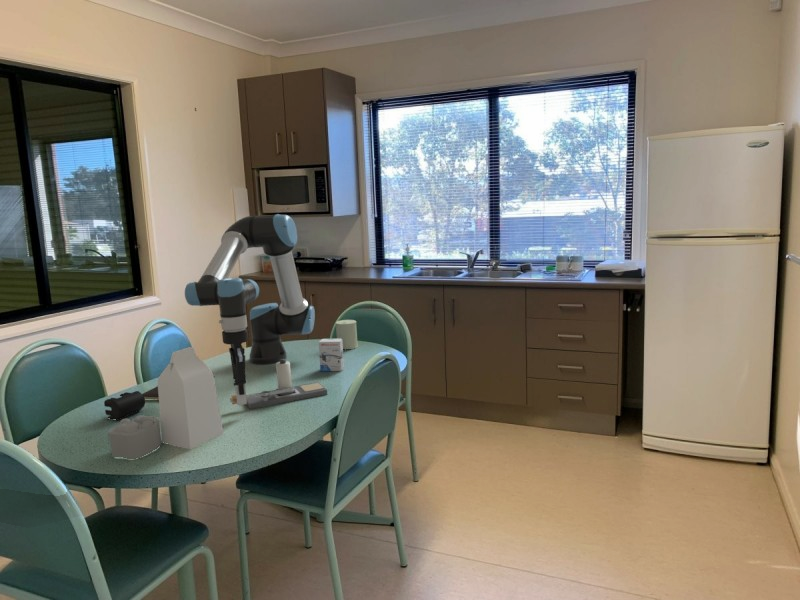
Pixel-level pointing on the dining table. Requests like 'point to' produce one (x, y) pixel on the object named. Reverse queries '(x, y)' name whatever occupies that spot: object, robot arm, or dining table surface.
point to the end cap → (124, 405)
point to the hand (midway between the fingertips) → (241, 403)
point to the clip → (261, 394)
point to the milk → (188, 401)
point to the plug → (284, 376)
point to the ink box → (331, 355)
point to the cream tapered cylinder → (347, 333)
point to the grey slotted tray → (299, 393)
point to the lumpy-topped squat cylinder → (135, 437)
